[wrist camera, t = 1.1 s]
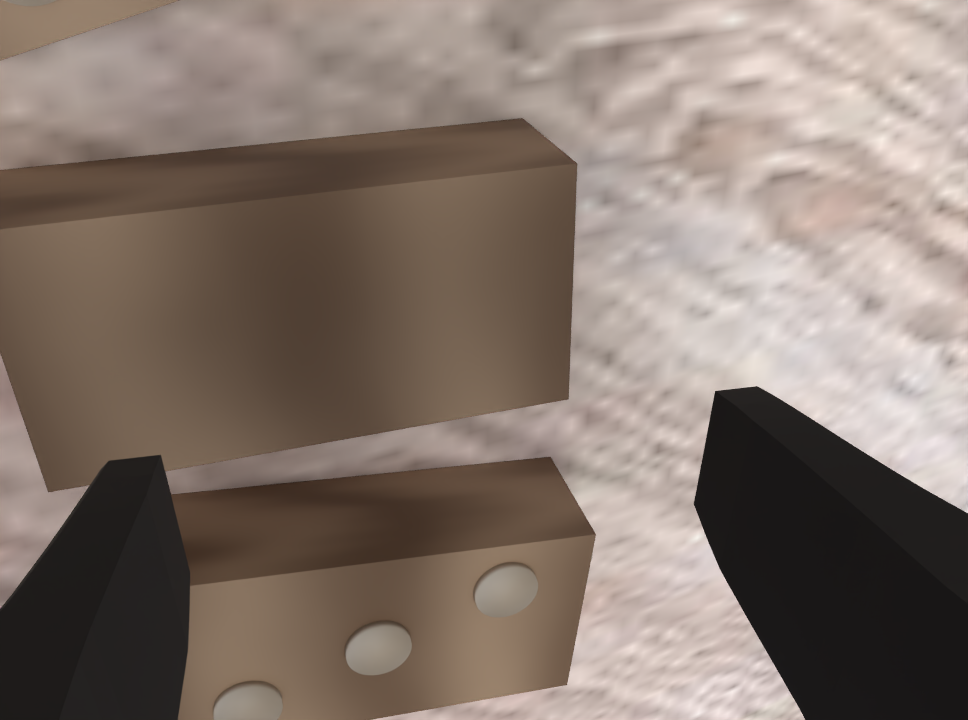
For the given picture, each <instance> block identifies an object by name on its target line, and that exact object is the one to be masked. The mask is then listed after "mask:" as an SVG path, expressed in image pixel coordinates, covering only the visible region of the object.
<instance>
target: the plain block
mask: <svg viewBox="0 0 968 720" xmlns="http://www.w3.org/2000/svg"><path fill="white" fill-rule="evenodd" d="M576 182H577V163H576V162H575V161H573V160H572V159H571V158H570V157H569V156H567V155H566V154H565V153H564V152H563V151H561V150H560V149H559V148H558V147H556V146H555V145H554V144H553V143H552V142H550V141H549V140H548V139H547V138H546V137H544V136H543V135H542V134H541V133H540V132H538V131H537V130H536V129H535V128H534V127H532V126H531V125H530V124H529V123H528V122H526V121H525V120H524V119H523V118H521V119H511V120H501V121H491V122H480V123H470V124H460V125H450V126H440V127H430V128H420V129H410V130H400V131H390V132H380V133H370V134H360V135H350V136H340V137H330V138H320V139H309V140H299V141H289V142H279V143H269V144H259V145H249V146H239V147H229V148H219V149H209V150H199V151H189V152H179V153H169V154H159V155H148V156H138V157H128V158H118V159H108V160H98V161H88V162H78V163H68V164H58V165H48V166H38V167H28V168H18V169H8V170H0V353H1V356H2V359H3V362H4V365H5V368H6V371H7V373H8V376H9V379H10V382H11V385H12V388H13V391H14V394H15V397H16V400H17V402H18V405H19V408H20V411H21V414H22V417H23V420H24V423H25V426H26V429H27V432H28V434H29V437H30V440H31V443H32V446H33V449H34V452H35V455H36V458H37V461H38V464H39V466H40V469H41V472H42V475H43V478H44V481H45V484H46V487H47V490H48V492H53V491H58V490H64V489H69V488H75V487H81V486H86V485H90V484H91V483H92V481H93V480H94V478H95V477H96V476H97V474H98V473H99V471H100V470H101V468H102V467H103V466H104V465H105V464H106V463H107V462H108V461H110V460H119V459H127V458H136V457H145V456H154V455H161V457H162V461H163V465H164V469H165V471H170V470H176V469H181V468H187V467H192V466H198V465H204V464H209V463H215V462H220V461H226V460H231V459H237V458H243V457H248V456H254V455H259V454H265V453H271V452H276V451H282V450H287V449H293V448H299V447H304V446H310V445H315V444H321V443H326V442H332V441H338V440H343V439H349V438H354V437H360V436H366V435H371V434H377V433H382V432H388V431H393V430H399V429H405V428H410V427H416V426H421V425H427V424H433V423H438V422H444V421H449V420H455V419H461V418H466V417H472V416H477V415H483V414H488V413H494V412H500V411H505V410H511V409H516V408H522V407H528V406H533V405H539V404H544V403H550V402H556V401H561V400H567V399H569V372H570V345H571V318H572V290H573V263H574V236H575V209H576Z"/></svg>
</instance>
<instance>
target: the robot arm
mask: <svg viewBox="0 0 968 720" xmlns="http://www.w3.org/2000/svg"><path fill="white" fill-rule="evenodd" d="M694 506H695V508H696V511H697V513H698V516H699V519H700V521H701V524H702V526H703V529H704V532H705V534H706V537H707V539H708V542H709V544H710V547H711V549H712V551H713V554H714V556H715V558H716V561H717V563H718V565H719V568H720V570H721V572H722V573H723V575H724V577H725V579H726V581H727V583H728V584H729V586H730V588H731V590H732V592H733V593H734V595H735V597H736V599H737V600H738V602H739V604H740V606H741V608H742V609H743V611H744V613H745V615H746V616H747V618H748V620H749V622H750V623H751V625H752V627H753V629H754V630H755V632H756V634H757V636H758V637H759V639H760V641H761V642H762V644H763V646H764V648H765V649H766V651H767V653H768V655H769V656H770V658H771V660H772V662H773V663H774V665H775V667H776V668H777V670H778V672H779V674H780V675H781V677H782V679H783V681H784V682H785V684H786V686H787V688H788V689H789V691H790V693H791V695H792V696H793V698H794V700H795V701H796V703H797V705H798V707H799V708H800V710H801V712H802V714H803V716H804V718H805V720H968V513H966V512H964V511H963V510H961V509H959V508H957V507H955V506H954V505H952V504H950V503H948V502H946V501H945V500H943V499H941V498H939V497H937V496H936V495H934V494H932V493H930V492H928V491H927V490H925V489H923V488H922V487H920V486H918V485H917V484H915V483H913V482H911V481H910V480H908V479H906V478H905V477H903V476H901V475H900V474H898V473H896V472H895V471H893V470H891V469H890V468H888V467H887V466H885V465H883V464H882V463H880V462H878V461H877V460H875V459H874V458H872V457H870V456H869V455H867V454H866V453H864V452H862V451H861V450H859V449H858V448H856V447H854V446H853V445H851V444H850V443H848V442H847V441H845V440H843V439H842V438H840V437H839V436H837V435H836V434H834V433H832V432H831V431H829V430H828V429H826V428H825V427H823V426H822V425H820V424H818V423H817V422H815V421H814V420H812V419H811V418H809V417H807V416H806V415H804V414H803V413H801V412H800V411H798V410H796V409H795V408H793V407H792V406H790V405H788V404H787V403H785V402H783V401H782V400H780V399H779V398H777V397H775V396H774V395H772V394H770V393H768V392H767V391H765V390H763V389H761V388H759V387H757V386H756V387H747V388H739V389H730V390H721V391H715V395H714V401H713V406H712V411H711V416H710V422H709V427H708V432H707V438H706V443H705V448H704V453H703V459H702V464H701V469H700V475H699V480H698V485H697V490H696V496H695V501H694ZM189 614H190V570H189V566H188V562H187V558H186V554H185V550H184V545H183V541H182V537H181V533H180V529H179V525H178V521H177V517H176V513H175V509H174V505H173V501H172V497H171V493H170V489H169V485H168V481H167V477H166V473H165V469H164V465H163V461H162V457H161V455H154V456H145V457H136V458H127V459H119V460H110V461H108V462H107V463H106V464H105V465H104V466H103V467H102V468H101V470H100V471H99V473H98V474H97V476H96V477H95V478H94V480H93V481H92V483H91V484H90V486H89V487H88V489H87V490H86V492H85V493H84V495H83V496H82V498H81V499H80V501H79V502H78V504H77V505H76V507H75V508H74V510H73V511H72V512H71V514H70V515H69V517H68V518H67V520H66V521H65V523H64V524H63V525H62V527H61V528H60V530H59V531H58V533H57V534H56V535H55V537H54V538H53V540H52V541H51V543H50V544H49V545H48V547H47V548H46V549H45V551H44V552H43V553H42V555H41V556H40V557H39V559H38V560H37V561H36V563H35V564H34V566H33V567H32V568H31V570H30V571H29V572H28V574H27V575H26V576H25V578H24V579H23V580H22V582H21V583H20V584H19V586H18V587H17V588H16V590H15V591H14V592H13V594H12V595H11V596H10V597H9V599H8V600H7V601H6V603H5V604H4V605H3V606H2V608H1V609H0V720H178V715H179V708H180V702H181V695H182V688H183V681H184V675H185V668H186V661H187V654H188V641H189Z"/></svg>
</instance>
